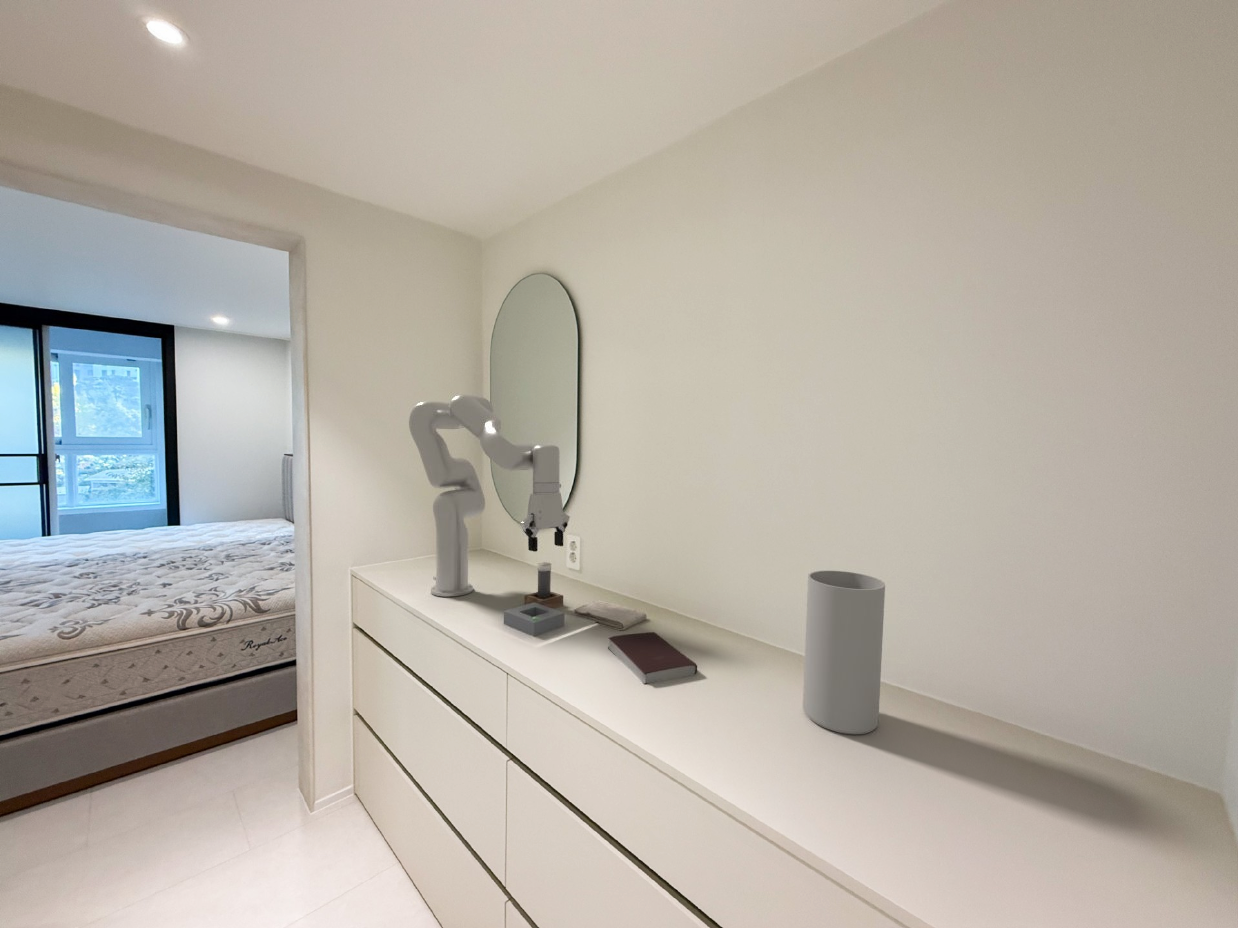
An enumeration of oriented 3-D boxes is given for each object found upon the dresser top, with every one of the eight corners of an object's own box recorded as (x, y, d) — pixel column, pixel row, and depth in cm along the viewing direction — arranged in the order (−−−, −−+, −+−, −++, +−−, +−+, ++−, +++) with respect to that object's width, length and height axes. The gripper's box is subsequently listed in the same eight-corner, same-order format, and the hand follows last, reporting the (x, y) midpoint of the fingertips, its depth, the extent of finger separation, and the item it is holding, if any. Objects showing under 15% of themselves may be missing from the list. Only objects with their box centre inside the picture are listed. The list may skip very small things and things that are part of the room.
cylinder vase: (849, 697, 101) (855, 569, 99) (894, 733, 88) (901, 588, 87) (789, 701, 98) (795, 571, 97) (827, 739, 86) (833, 590, 85)
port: (503, 626, 134) (503, 609, 134) (533, 616, 141) (534, 600, 141) (533, 638, 126) (533, 620, 126) (563, 627, 133) (564, 611, 133)
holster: (524, 607, 149) (524, 595, 149) (545, 601, 155) (545, 589, 155) (542, 613, 144) (542, 601, 144) (563, 607, 150) (563, 595, 149)
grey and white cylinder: (534, 605, 149) (534, 564, 148) (544, 602, 152) (545, 561, 151) (543, 608, 146) (543, 566, 146) (553, 605, 149) (554, 564, 149)
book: (655, 642, 126) (655, 629, 126) (697, 676, 109) (698, 661, 109) (607, 650, 121) (607, 636, 121) (643, 687, 104) (644, 671, 104)
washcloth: (596, 607, 152) (596, 596, 152) (648, 620, 142) (648, 609, 142) (570, 617, 142) (570, 606, 142) (623, 633, 132) (624, 621, 132)
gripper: (559, 485, 156) (559, 542, 157) (513, 489, 143) (513, 551, 144) (577, 487, 151) (577, 545, 152) (530, 491, 138) (530, 554, 139)
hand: (546, 548), depth 148 cm, fingers open, 9 cm apart
